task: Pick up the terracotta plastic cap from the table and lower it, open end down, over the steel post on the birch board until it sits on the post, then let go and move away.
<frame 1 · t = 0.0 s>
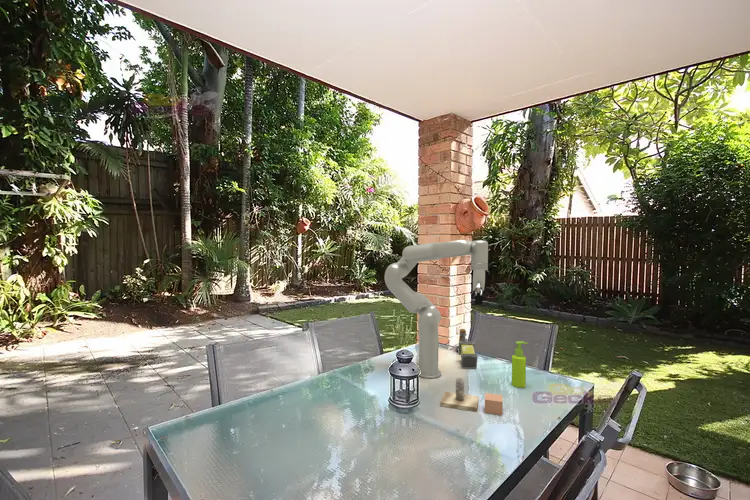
hand: (479, 302, 168), 37 cm above the table, tool pointing down, fingers open, 9 cm apart
cap: (493, 410, 137), on the table
board: (459, 402, 144), on the table
soap dispenser: (519, 385, 162), on the table
grey and yellow block: (464, 359, 199), on the table
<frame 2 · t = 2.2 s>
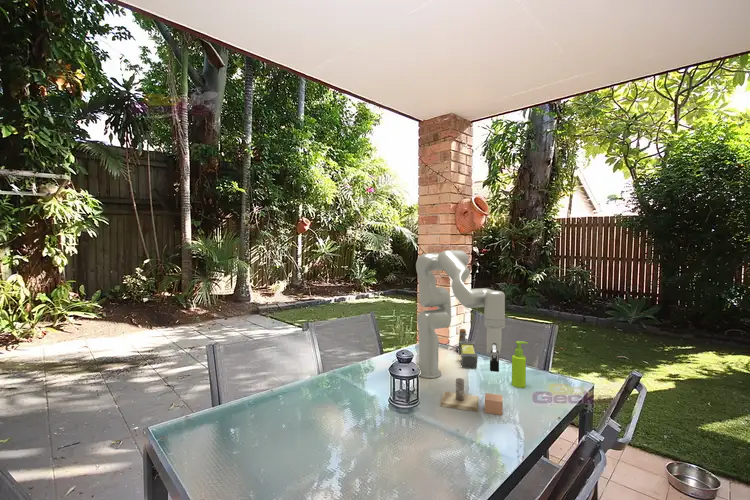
hand: (494, 367, 137), 17 cm above the table, tool pointing down, fingers open, 9 cm apart
nothing on the table moved.
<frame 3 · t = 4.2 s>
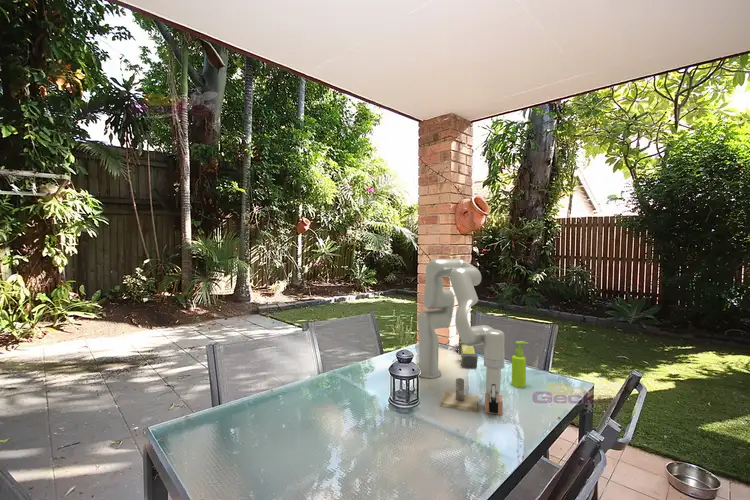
hand: (493, 407, 137), 1 cm above the table, tool pointing down, fingers closed on cap, 6 cm apart
cap: (493, 410, 137), on the table, touching gripper
everything else where it was.
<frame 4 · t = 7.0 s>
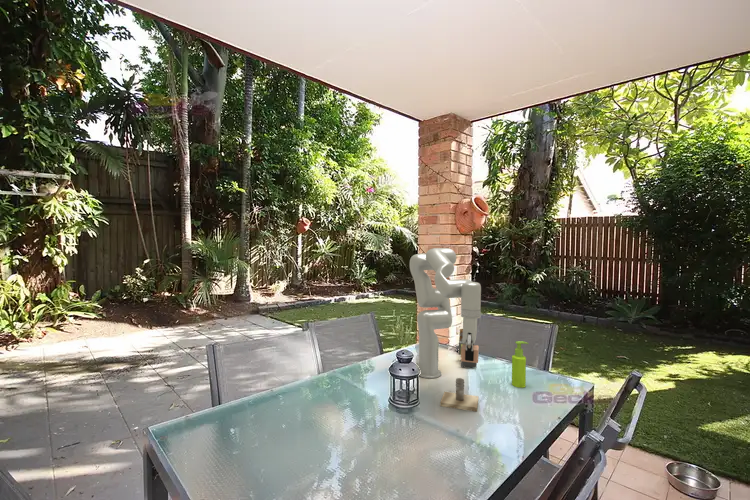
hand: (469, 357, 142), 19 cm above the table, tool pointing down, fingers closed on cap, 6 cm apart
cap: (469, 359, 142), point 18 cm above the table, touching gripper
everything else where it was.
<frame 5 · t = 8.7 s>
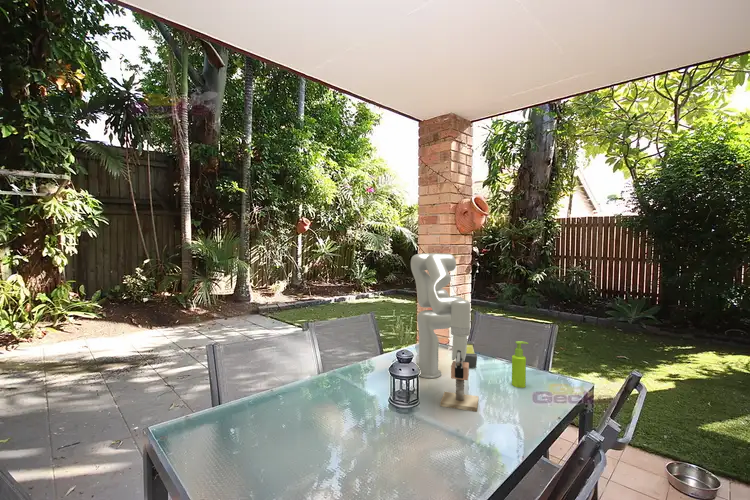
hand: (460, 374, 143), 12 cm above the table, tool pointing down, fingers closed on cap, 6 cm apart
cap: (460, 376, 143), point 11 cm above the table, touching gripper
everything else where it was.
when the fingers open (7 cm above the table, at t = 10.3 s): cap stays where it is, resting on board.
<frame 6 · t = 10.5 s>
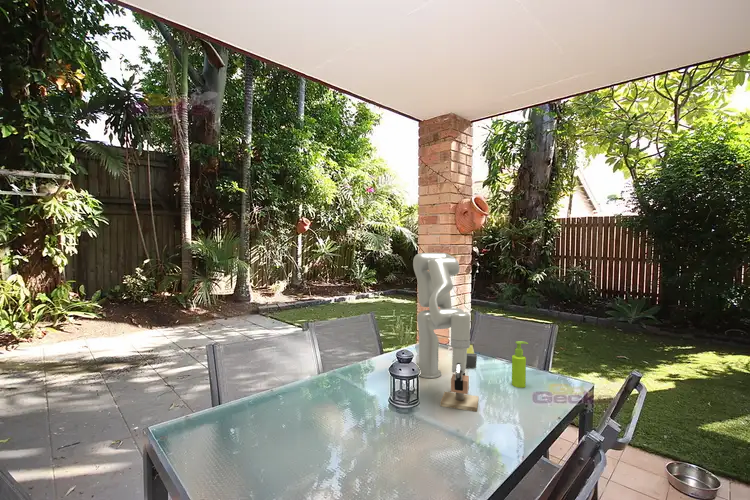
hand: (459, 385, 144), 7 cm above the table, tool pointing down, fingers open, 8 cm apart
cap: (459, 389, 144), point 5 cm above the table, touching board
everything else where it was.
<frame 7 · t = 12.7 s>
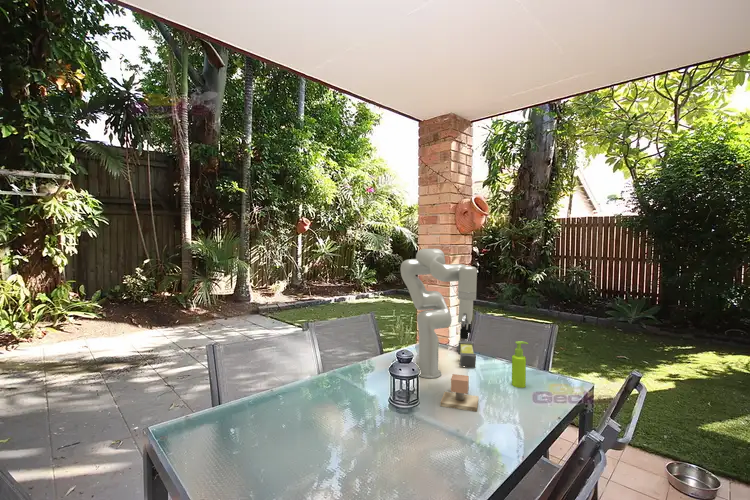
hand: (465, 335, 150), 26 cm above the table, tool pointing down, fingers open, 9 cm apart
nothing on the table moved.
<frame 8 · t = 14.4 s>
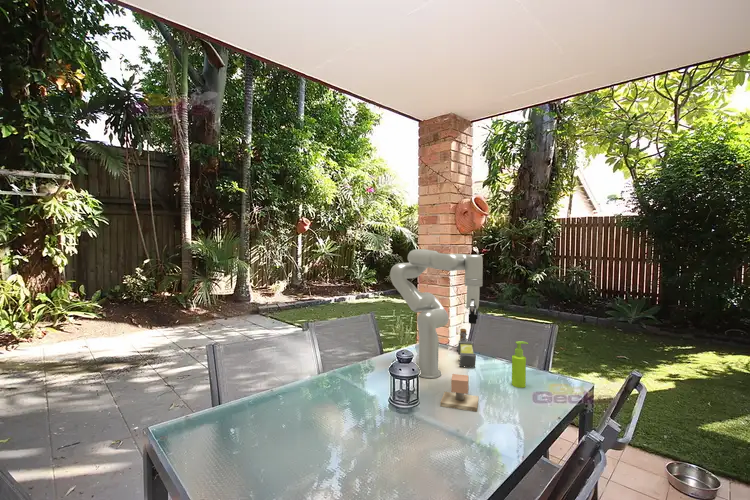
hand: (473, 321, 157), 30 cm above the table, tool pointing down, fingers open, 9 cm apart
nothing on the table moved.
at the end: cap 0.1 cm off-centre on the board, point 5.3 cm above the board's base; cap tilted 1°; the gripper is holding nothing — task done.
